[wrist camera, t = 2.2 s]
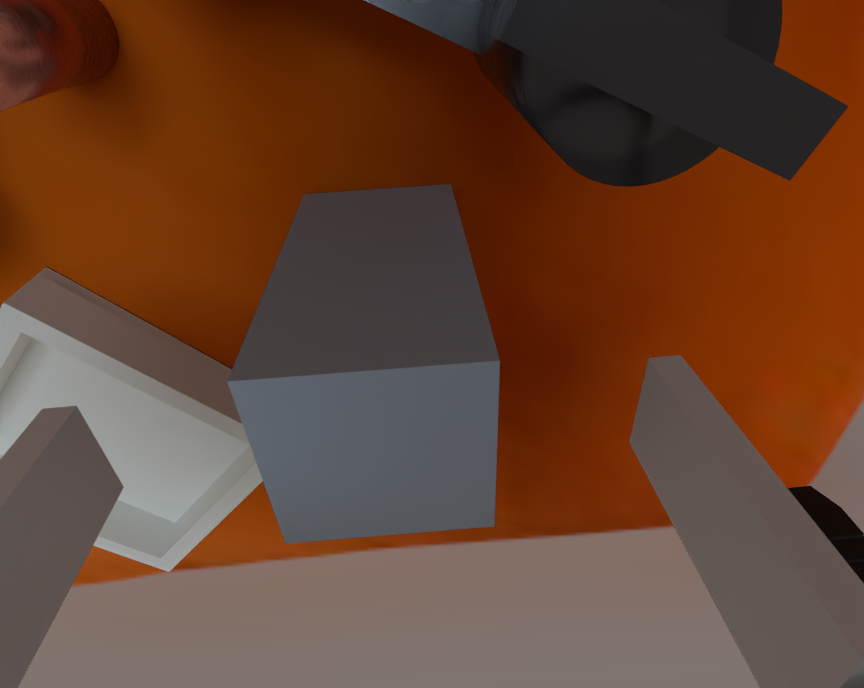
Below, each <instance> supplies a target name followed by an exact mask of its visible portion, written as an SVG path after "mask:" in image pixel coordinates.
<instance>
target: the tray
mask: <svg viewBox="0 0 864 688" xmlns="http://www.w3.org/2000/svg"><path fill="white" fill-rule="evenodd" d="M231 371H232V369H230V368H228V367H227V366H225V365H223V364H221V363H219V362H218V361H216V360H214V359H212V358H210V357H209V356H207V355H205V354H203V353H201V352H200V351H198V350H196V349H194V348H192V347H191V346H189V345H187V344H185V343H183V342H182V341H180V340H178V339H176V338H174V337H172V336H171V335H169V334H167V333H165V332H163V331H162V330H160V329H158V328H156V327H154V326H153V325H151V324H149V323H147V322H145V321H144V320H142V319H140V318H138V317H136V316H135V315H133V314H131V313H129V312H127V311H125V310H124V309H122V308H120V307H118V306H116V305H115V304H113V303H111V302H109V301H107V300H106V299H104V298H102V297H100V296H98V295H97V294H95V293H93V292H91V291H89V290H88V289H86V288H84V287H82V286H80V285H79V284H77V283H75V282H73V281H71V280H69V279H68V278H66V277H64V276H62V275H60V274H59V273H57V272H55V271H53V270H51V269H50V268H48V267H45V268H44V269H43V270H41V271H40V272H39V273H38V274H37V275H35V276H34V277H33V278H32V279H31V280H29V281H28V282H27V283H26V284H25V285H24V286H22V287H21V288H20V289H19V290H18V291H16V292H15V293H14V294H13V295H12V296H10V297H9V298H8V299H7V300H6V301H4V302H3V304H2V306H1V308H0V459H1V458H2V457H3V456H4V454H5V453H6V452H7V451H8V450H9V448H10V447H11V446H12V445H13V443H14V442H15V441H16V440H17V439H18V437H19V436H20V435H21V434H22V433H23V431H24V430H25V429H26V428H27V426H28V425H29V424H30V423H31V422H32V420H33V419H34V418H35V417H36V416H37V414H38V413H39V412H40V411H41V410H42V409H44V408H56V407H68V406H77V407H78V409H79V411H80V412H81V414H82V416H83V417H84V419H85V421H86V423H87V424H88V426H89V428H90V429H91V431H92V433H93V435H94V436H95V438H96V440H97V442H98V443H99V445H100V447H101V448H102V450H103V452H104V454H105V455H106V457H107V459H108V460H109V462H110V464H111V466H112V467H113V469H114V471H115V473H116V474H117V476H118V478H119V479H120V481H121V483H122V485H123V486H124V488H123V490H122V492H121V494H120V495H119V497H118V499H117V501H116V503H115V505H114V507H113V509H112V511H111V512H110V514H109V516H108V518H107V520H106V522H105V524H104V526H103V528H102V529H101V531H100V533H99V535H98V537H97V539H96V541H95V543H94V545H93V546H96V547H99V548H102V549H105V550H107V551H110V552H113V553H116V554H119V555H122V556H125V557H128V558H130V559H133V560H136V561H139V562H142V563H145V564H148V565H150V566H153V567H156V568H159V569H162V570H165V571H168V572H169V571H170V570H171V569H172V568H174V567H175V566H176V565H177V564H178V563H179V562H180V561H181V560H182V559H183V558H184V557H185V556H186V555H187V554H188V553H189V552H190V551H191V550H192V549H193V548H194V547H195V546H196V545H197V544H198V543H199V542H200V541H201V540H202V539H203V538H204V537H205V536H206V535H208V534H209V533H210V532H211V531H212V530H213V529H214V528H215V527H216V526H217V525H218V524H219V523H220V522H221V521H222V520H223V519H224V518H225V517H226V516H227V515H228V514H229V513H230V512H231V511H232V510H233V509H234V508H235V507H236V506H237V505H238V504H239V503H240V502H242V501H243V500H244V499H245V498H246V497H247V496H248V495H249V494H250V493H251V492H252V491H253V490H254V489H255V488H256V487H257V486H258V485H259V484H260V483H261V482H262V481H263V480H262V477H261V474H260V471H259V469H258V466H257V463H256V460H255V458H254V455H253V452H252V449H251V446H250V444H249V441H248V438H247V435H246V433H245V430H244V427H243V424H242V421H241V419H240V416H239V413H238V410H237V408H236V405H235V402H234V399H233V397H232V394H231V391H230V388H229V385H228V383H227V381H228V378H229V376H230V373H231Z"/></svg>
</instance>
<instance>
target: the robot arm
mask: <svg viewBox="0 0 864 688" xmlns="http://www.w3.org/2000/svg"><path fill="white" fill-rule="evenodd" d="M629 443H630V445H631V447H632V449H633V451H634V452H635V454H636V456H637V458H638V460H639V462H640V464H641V466H642V467H643V469H644V471H645V473H646V475H647V477H648V479H649V481H650V482H651V484H652V486H653V488H654V490H655V492H656V494H657V496H658V497H659V499H660V501H661V503H662V505H663V507H664V509H665V511H666V512H667V514H668V516H669V518H670V520H671V522H672V524H673V526H674V528H675V529H676V531H677V533H678V535H679V537H680V539H681V540H682V542H683V544H684V546H685V548H686V550H687V552H688V554H689V556H690V557H691V559H692V561H693V563H694V565H695V567H696V568H697V571H698V573H699V574H700V576H701V578H702V580H703V582H704V584H705V586H706V588H707V589H708V591H709V593H710V595H711V597H712V599H713V601H714V603H715V604H716V606H717V608H718V610H719V612H720V613H721V616H722V618H723V619H724V621H725V623H726V625H727V627H728V629H729V631H730V633H731V634H732V636H733V638H734V640H735V642H736V644H737V646H738V648H739V649H740V651H741V653H742V655H743V657H744V659H745V661H746V663H747V665H748V666H749V668H750V670H751V672H752V674H753V676H754V678H755V680H756V681H757V683H758V685H759V687H760V688H864V533H863V532H862V531H861V530H860V529H859V528H858V527H857V525H856V524H855V523H854V522H853V521H852V520H851V519H850V517H849V516H848V515H847V514H846V513H845V512H844V511H843V509H842V508H841V507H839V506H838V505H837V504H835V503H834V502H832V501H831V500H830V499H828V498H827V497H825V496H824V495H823V494H821V493H820V492H818V491H817V490H815V489H814V488H813V487H811V486H805V487H794V488H787V487H786V486H785V485H784V483H783V482H782V481H781V480H780V478H779V477H778V476H777V475H776V473H775V472H774V471H773V470H772V468H771V467H770V466H769V465H768V463H767V462H766V461H765V460H764V458H763V457H762V456H761V455H760V453H759V452H758V451H757V450H756V448H755V447H754V446H753V445H752V443H751V442H750V441H749V440H748V438H747V437H746V436H745V435H744V433H743V432H742V431H741V430H740V428H739V427H738V426H737V425H736V423H735V422H734V421H733V420H732V418H731V417H730V416H729V415H728V413H727V412H726V411H725V410H724V408H723V407H722V406H721V405H720V403H719V402H718V401H717V400H716V398H715V397H714V396H713V395H712V393H711V392H710V391H709V390H708V388H707V387H706V386H705V385H704V383H703V382H702V381H701V380H700V378H699V377H698V376H697V375H696V373H695V372H694V371H693V370H692V368H691V367H690V366H689V365H688V363H687V362H686V361H685V360H684V358H683V357H682V356H681V355H677V356H665V357H653V358H648V363H647V367H646V371H645V376H644V380H643V384H642V389H641V393H640V397H639V402H638V406H637V411H636V415H635V419H634V424H633V428H632V432H631V437H630V441H629ZM123 488H124V486H123V485H122V483H121V481H120V479H119V478H118V476H117V474H116V473H115V471H114V469H113V467H112V466H111V464H110V462H109V460H108V459H107V457H106V455H105V454H104V452H103V450H102V448H101V447H100V445H99V443H98V442H97V440H96V438H95V436H94V435H93V433H92V431H91V429H90V428H89V426H88V424H87V423H86V421H85V419H84V417H83V416H82V414H81V412H80V411H79V409H78V407H77V406H68V407H56V408H44V409H42V410H41V411H40V412H39V413H38V414H37V416H36V417H35V418H34V419H33V420H32V422H31V423H30V424H29V425H28V426H27V428H26V429H25V430H24V431H23V433H22V434H21V435H20V436H19V437H18V439H17V440H16V441H15V442H14V443H13V445H12V446H11V447H10V448H9V450H8V451H7V452H6V453H5V454H4V456H3V457H2V458H1V459H0V688H18V686H19V684H20V682H21V680H22V679H23V677H24V675H25V672H26V671H27V669H28V667H29V665H30V663H31V662H32V659H33V658H34V656H35V654H36V652H37V650H38V648H39V646H40V645H41V643H42V641H43V639H44V637H45V635H46V633H47V631H48V629H49V628H50V626H51V624H52V622H53V620H54V618H55V616H56V614H57V613H58V611H59V609H60V607H61V605H62V603H63V601H64V599H65V597H66V595H67V594H68V592H69V590H70V588H71V586H72V584H73V582H74V580H75V579H76V577H77V575H78V573H79V571H80V569H81V567H82V565H83V563H84V562H85V560H86V558H87V556H88V554H89V552H90V550H91V548H92V546H93V545H94V543H95V541H96V539H97V537H98V535H99V533H100V531H101V529H102V528H103V526H104V524H105V522H106V520H107V518H108V516H109V514H110V512H111V511H112V509H113V507H114V505H115V503H116V501H117V499H118V497H119V495H120V494H121V492H122V490H123Z"/></svg>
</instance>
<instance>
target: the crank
mask: <svg viewBox="0 0 864 688" xmlns="http://www.w3.org/2000/svg"><path fill="white" fill-rule="evenodd" d="M364 1H366V2H369V3H371V4H373V5H375V6H377V7H379V8H381V9H384V10H386V11H388V12H390V13H392V14H394V15H396V16H398V17H401V18H403V19H405V20H407V21H409V22H411V23H413V24H416V25H418V26H420V27H422V28H424V29H426V30H428V31H430V32H433V33H435V34H437V35H439V36H441V37H443V38H445V39H448V40H450V41H452V42H454V43H456V44H458V45H460V46H462V47H465V48H467V49H469V50H471V51H473V52H474V56H475V58H476V61H477V63H478V65H479V67H480V69H481V71H482V72H483V73H484V75H485V76H486V77H487V79H488V80H489V81H490V82H491V83H492V84H493V85H494V86H495V87H496V88H497V89H498V90H499V92H500V93H501V94H502V95H503V96H504V97H505V98H506V99H507V100H508V101H509V102H510V103H511V104H512V106H513V107H514V108H515V109H516V110H517V111H518V112H519V113H520V114H521V115H522V116H523V117H524V119H525V120H526V121H527V122H528V123H529V124H530V125H531V126H532V127H533V128H534V129H535V130H536V131H537V133H538V134H539V135H540V136H541V137H542V138H543V139H544V140H545V141H546V142H547V143H548V144H549V146H550V147H551V148H552V149H553V150H554V151H555V152H556V153H557V154H558V155H559V156H560V157H561V158H562V159H563V160H564V161H565V162H566V163H567V164H568V165H569V166H570V167H571V168H573V169H574V170H575V171H577V172H578V173H580V174H581V175H583V176H585V177H587V178H589V179H591V180H594V181H597V182H600V183H603V184H608V185H614V186H640V185H647V184H651V183H656V182H660V181H662V180H665V179H668V178H671V177H673V176H676V175H678V174H680V173H682V172H684V171H686V170H688V169H689V168H691V167H693V166H694V165H696V164H698V163H699V162H701V161H702V160H704V159H705V158H706V157H708V156H709V155H710V154H712V153H713V152H714V151H715V150H716V149H717V148H718V147H721V148H723V149H725V150H727V151H729V152H732V153H734V154H736V155H738V156H740V157H742V158H744V159H746V160H748V161H750V162H752V163H754V164H756V165H759V166H761V167H763V168H765V169H767V170H769V171H771V172H773V173H775V174H777V175H779V176H781V177H783V178H785V179H788V180H791V179H792V177H793V176H794V175H795V174H796V172H797V171H798V170H799V168H800V167H801V166H802V165H803V163H804V162H805V161H806V160H807V158H808V157H809V156H810V154H811V153H812V152H813V151H814V149H815V148H816V147H817V146H818V144H819V143H820V142H821V140H822V139H823V138H824V137H825V135H826V134H827V133H828V132H829V130H830V129H831V128H832V126H833V125H834V124H835V123H836V121H837V120H838V119H839V118H840V116H841V115H842V114H843V112H844V111H845V110H846V109H847V107H848V106H847V105H845V104H843V103H842V102H840V101H838V100H836V99H834V98H833V97H831V96H829V95H827V94H825V93H824V92H822V91H820V90H818V89H816V88H815V87H813V86H811V85H809V84H807V83H806V82H804V81H802V80H800V79H798V78H797V77H795V76H793V75H791V74H789V73H788V72H786V71H784V70H782V69H780V68H779V67H777V66H775V65H773V64H774V60H775V56H776V53H777V49H778V45H779V39H780V33H781V25H782V0H364Z"/></svg>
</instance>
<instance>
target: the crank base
mask: <svg viewBox="0 0 864 688" xmlns="http://www.w3.org/2000/svg"><path fill="white" fill-rule="evenodd" d="M117 55H118V37H117V32H116V29H115V26H114V24H113V21H112V19H111V17H110V16H109V14H108V12H107V11H106V9H105V8H104V7H103V5H102V4H101V3H100V2H99V1H98V0H0V110H3V109H6V108H9V107H11V106H14V105H17V104H20V103H23V102H26V101H29V100H32V99H35V98H38V97H41V96H44V95H47V94H49V93H52V92H55V91H58V90H61V89H64V88H67V87H70V86H73V85H76V84H79V83H82V82H84V81H87V80H90V79H93V78H96V77H99V76H101V75H103V74H105V73H107V72H108V71H109V70H110V69H111V68H112V66H113V65H114V63H115V61H116V59H117Z"/></svg>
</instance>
